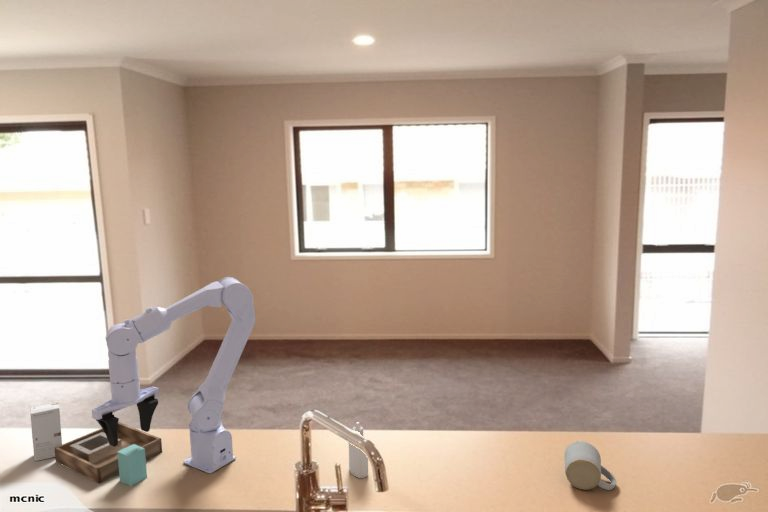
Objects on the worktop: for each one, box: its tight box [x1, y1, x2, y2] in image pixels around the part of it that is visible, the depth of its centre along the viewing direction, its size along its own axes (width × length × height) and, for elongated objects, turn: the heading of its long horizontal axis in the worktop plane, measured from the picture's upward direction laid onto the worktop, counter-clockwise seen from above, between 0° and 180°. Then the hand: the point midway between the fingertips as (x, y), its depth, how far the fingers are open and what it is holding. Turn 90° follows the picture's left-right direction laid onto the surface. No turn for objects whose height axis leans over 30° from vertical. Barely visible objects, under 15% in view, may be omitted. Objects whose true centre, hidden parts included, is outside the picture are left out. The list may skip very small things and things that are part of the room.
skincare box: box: [29, 402, 63, 462], centre depth 130 cm, size 6×4×12 cm
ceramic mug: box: [564, 440, 617, 491], centre depth 116 cm, size 11×8×8 cm
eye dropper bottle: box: [348, 421, 369, 479], centre depth 121 cm, size 4×6×12 cm
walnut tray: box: [54, 421, 163, 484], centre depth 130 cm, size 18×16×4 cm
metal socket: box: [70, 432, 122, 464], centre depth 129 cm, size 8×8×3 cm
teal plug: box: [117, 444, 148, 487], centre depth 120 cm, size 4×4×7 cm
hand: (129, 437), depth 119 cm, fingers open, 7 cm apart
